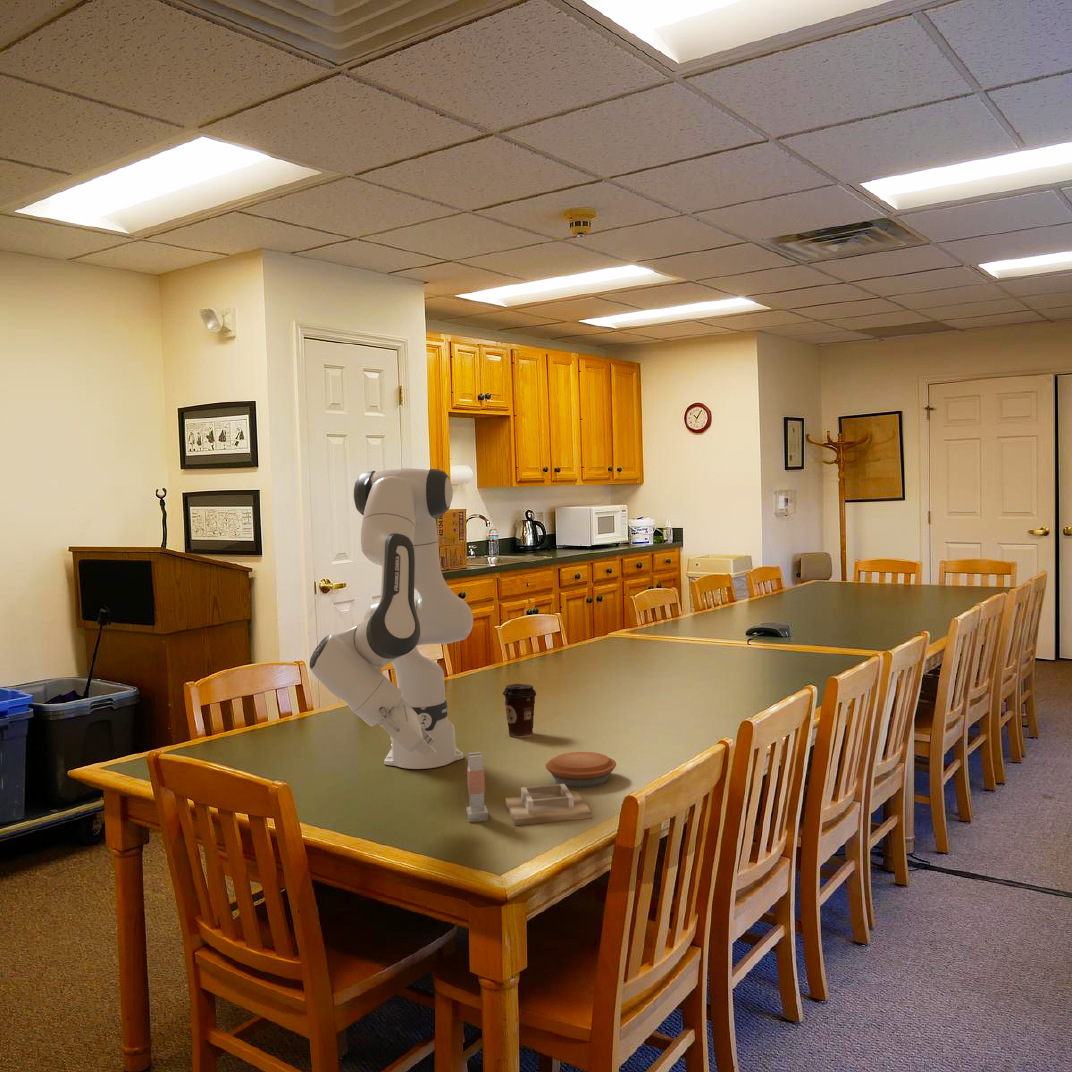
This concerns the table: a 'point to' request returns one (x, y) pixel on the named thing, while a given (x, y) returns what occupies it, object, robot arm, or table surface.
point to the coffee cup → (520, 709)
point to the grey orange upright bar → (476, 788)
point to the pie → (581, 768)
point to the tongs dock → (546, 805)
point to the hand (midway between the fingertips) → (433, 749)
